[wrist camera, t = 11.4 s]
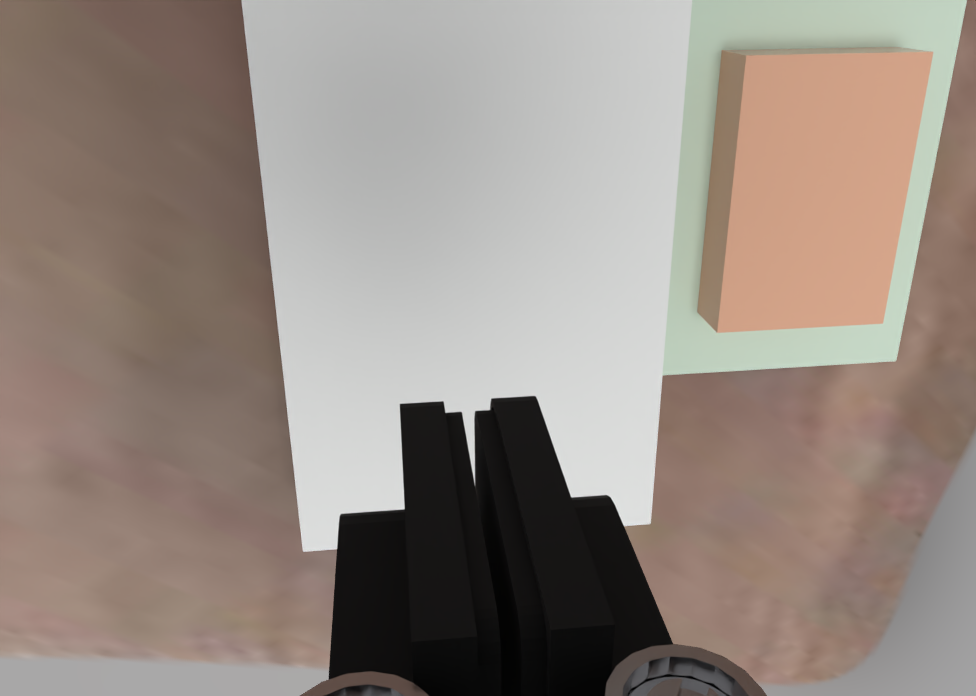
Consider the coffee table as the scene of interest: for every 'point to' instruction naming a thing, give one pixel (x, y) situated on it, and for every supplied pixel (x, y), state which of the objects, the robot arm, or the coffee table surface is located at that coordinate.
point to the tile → (808, 185)
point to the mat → (714, 27)
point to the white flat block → (468, 229)
